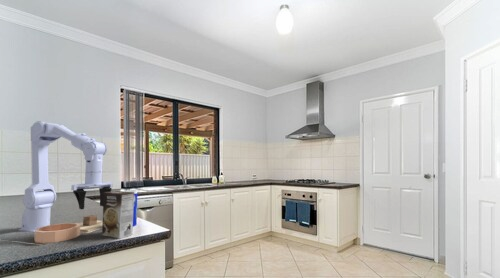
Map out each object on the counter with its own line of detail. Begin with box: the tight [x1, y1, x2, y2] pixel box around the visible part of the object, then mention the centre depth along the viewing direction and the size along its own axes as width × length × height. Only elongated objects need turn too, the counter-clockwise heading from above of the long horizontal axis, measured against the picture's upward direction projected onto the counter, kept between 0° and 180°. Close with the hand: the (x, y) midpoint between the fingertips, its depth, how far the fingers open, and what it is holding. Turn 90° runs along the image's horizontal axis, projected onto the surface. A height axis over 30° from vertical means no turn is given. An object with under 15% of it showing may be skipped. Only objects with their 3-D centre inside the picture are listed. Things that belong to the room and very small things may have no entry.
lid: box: [78, 214, 103, 233], centre depth 110 cm, size 14×14×4 cm
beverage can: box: [124, 189, 138, 227], centre depth 112 cm, size 5×5×15 cm
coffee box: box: [101, 190, 134, 240], centre depth 99 cm, size 9×6×16 cm
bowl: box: [33, 222, 81, 245], centre depth 95 cm, size 13×13×4 cm
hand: (92, 207), depth 102 cm, fingers open, 7 cm apart
